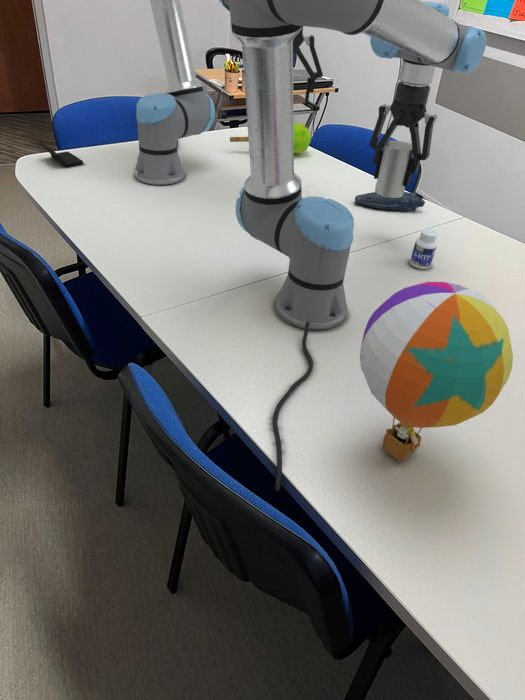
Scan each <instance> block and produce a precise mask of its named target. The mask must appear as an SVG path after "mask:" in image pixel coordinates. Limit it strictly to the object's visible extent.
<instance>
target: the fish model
mask: <svg viewBox="0 0 525 700" xmlns="http://www.w3.org/2000/svg"><path fill="white" fill-rule="evenodd" d="M423 198H424V195H422V194H420V193H419V194H418V193H414V192H408V191H404V194H403V196H402V197H399V198H389V197H384V196H381V195H379V194H377V193H376V192H375V191H372V192H366V193H362V194H358V195H355V197H354V203H355V204H358V205H362V206H365V207H369V208H373V209H379V210H389V211H393V210H395V211H402V212H406V211H408V210H412V211H416V210H417V209H418V208H423V207H424V206H425V204H426V201H425V200H424V199H423Z"/></svg>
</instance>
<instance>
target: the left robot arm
mask: <svg viewBox="0 0 525 700" xmlns="http://www.w3.org/2000/svg"><path fill="white" fill-rule="evenodd" d="M149 4H150V7H151V12H152V17H153V21H154V25H155V29H156V30H155V31H156V33H157V38H158V43H159V46H160V47H159V48H160V51H161V55H162V61H163V64H164V68H165V69H164V70H165V73H166V77H167V83H168V88H167V90H166V91H165V93H161V92H159V93H151V94H148V95H147V94H146V95H144V96H142V97H141V98H139V99H138V101H137V102H136V114H135V117H136V123H137V124H136V125H137V137H138V156H137V160H136V164H135V167H134V168H133V173H134V176H135V179H136V180H137V181H139V182H141V183H144V184H148V185H153V186H169V185H174V184H177V183H179V182H181V181H183V179H184V178H185V174H184V173H185V171H184V168H183V165H182V162H181V159H180V156H179V153H178V147H179V141H178V140H180V139H184V138H188V137H192V136H197V135H201V134H203V133H205V132H207V131H209V130H210V129H211V128H212V125H214V122H215V117H216V108H215V103H214V101H213V99H212V98H211V96H210V94H208V93H206V92H205V91H204V87H203V86H204V85H202V83H201V82H199V81H198V80H197V77H196V72H195V71H196V70H195V67H194V66H195V65H194V61H193V57H192V52H191V48H190V47H191V46H190V43H189V38H188V33H187V29H186V23H185V19H184V14H183V9H182V4H181V0H149ZM304 42H305V44H306V46H308V47H309V51H310V54H311V57H312V60H313V63H314V67H315V70H316V72H314V69H312V67H311V64H310V63H309V62H308V59H307V58H306V57H305V55H304V53H303V52H302V50H301V48H300V47H301V45H302V44H303V43H304ZM293 54H296V56H297V57H298V59H299V60H300V63H301V64H302V65H303V68H304V69H305V71H306V72H307V74H308V76H309V77H307V80H306V88H305V90H306V91H305V96H304V107H308V106H309V100H310V99H309V98H310V93H312V94H313V93H314V91H315V86H316V85H315V84H316V80H317V79H319V78H323V76H324V74H323V70H322V67H321V63H320V60H319V57H318V54H317V51H316V48H315V36H314V35H313V34H310V35H304V26H302V29H301V31H300V32H299V33H298V34H297V35H296V37H295V38H294V39H293Z"/></svg>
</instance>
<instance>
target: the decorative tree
mask: <svg viewBox="0 0 525 700" xmlns="http://www.w3.org/2000/svg"><path fill="white" fill-rule="evenodd" d="M293 126H294V155H299V154H302V153H303V152H305V151H307V149H308V148H309V146H310V145H311V140H312V134H311V131H310V130H309V129H308V128H307V127H306V126H305V125H304V124H303V123H293ZM229 142H230V143H242V142H243V143H249V138H248V136H229Z"/></svg>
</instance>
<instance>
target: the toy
mask: <svg viewBox="0 0 525 700" xmlns="http://www.w3.org/2000/svg"><path fill="white" fill-rule="evenodd" d="M510 336H511V335H510V332H509V327H508V325H507V323H506V321H505V319H504V317H503V316H502V315H501V314H500V312H499V311H498V310H497V309H496V307H494V305H493V304H492V303H491V302H490V301H489V300H488V299H487V298H485V297H484V296H482V295H481V294H479V293H478V292H476V291H475V290H473V289H470V288H468V287H465V286H463V285H460V284H457V283H451V282H446V281H425V282H421V283H417V284H414V285H409V286H407V287H404V288H402V289H399V290H398V291H396V292H395V293H393V294H392V295H391V296H390V297H388V298H387V299H386V300H385V301H384V302H383V303H381V305H380V306H378V307H377V308H375V310H374V311H373V313H372V314H371V315H370V317H369V318H368V319H367V322H366V325H365V328H364V331H363V336H362V340H361V344H360V353H359V363H360V369H361V371H362V374H363V377H364V379H365V381H366V384H367V387H368V388H369V390H370V393H371V395H372V396H374V398H375V399H376V400H377V401H378V402H379V404H380V405H381V406H382V407H383V408H384V409H385V410H386V411H388V413H389V414H390V415H391V416H392V417H393V421H392V426H391V428H386V430H385V433H384V437H383V440H382V449H383V450H384V451H385V452H386V453H387V454H389V456H391V457H392V458H393V459H395V460H396V461H397V462H399V463H403V462H405V460H407V459H408V458H409V457H410V456H411V455H413V454H414V453H415V452H416V450H417V449H418V448H420V447H421V441H422V436H421V435H420V434H419V433H420V432H421V431H422V430H423V429H424V428H425V429H428V428H443V427H452V426H457V425H459V424H461V423H463V422H466V421H468V420H470V419H472V418H474V417H477V416H479V415H480V414H481V415H482V414H483V413H484V412H486V411H487V410H489V408H490V407H491V406H492V405H494V403H495V401H496V400H497V398H498V397H499V395H500V393H501V392H502V390H503V388H504V387H505V386H506V384H507V383H508V381H509V378H510V376H511V372H512V370H513V359H514V353H513V347H512V342H511V337H510ZM395 420H397V421H398V422H399V423H397V424H395ZM415 428H417V429H419V428H420V429H419V430H418V431H417V432H416V430H415Z"/></svg>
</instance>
